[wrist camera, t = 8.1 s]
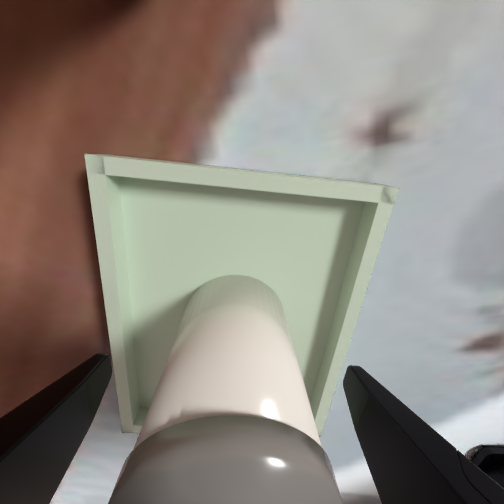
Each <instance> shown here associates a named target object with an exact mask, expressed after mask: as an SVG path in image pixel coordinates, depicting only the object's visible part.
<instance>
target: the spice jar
mask: <svg viewBox="0 0 504 504" xmlns="http://www.w3.org/2000/svg"><path fill="white" fill-rule="evenodd" d="M108 504H343V503H342V500H341V496H340V493H339V489H338V486H337V483H336V479H335V476H334V472H333V469H332V465H331V463H330V460H329V458H328V456H327V454H326V453H325V451H324V450H323V448H322V446H321V442H320V439H319V435H318V431H317V428H316V424H315V421H314V417H313V414H312V410H311V406H310V403H309V399H308V396H307V392H306V388H305V385H304V381H303V378H302V374H301V371H300V367H299V363H298V360H297V356H296V353H295V349H294V345H293V342H292V338H291V335H290V331H289V327H288V324H287V320H286V317H285V313H284V310H283V306H282V303H281V301H280V299H279V297H278V295H277V294H276V293H275V292H274V290H273V289H271V288H270V287H269V286H268V285H267V284H265V283H264V282H262V281H260V280H258V279H255V278H253V277H249V276H244V275H225V276H221V277H217V278H214V279H212V280H210V281H208V282H206V283H205V284H203V285H202V286H200V287H199V288H198V289H197V290H196V291H195V292H194V293H193V295H192V296H191V298H190V300H189V302H188V304H187V307H186V310H185V312H184V315H183V318H182V320H181V323H180V326H179V328H178V331H177V334H176V337H175V339H174V342H173V345H172V347H171V350H170V353H169V355H168V358H167V361H166V364H165V366H164V369H163V372H162V374H161V377H160V380H159V382H158V385H157V388H156V391H155V393H154V396H153V399H152V401H151V404H150V407H149V410H148V412H147V415H146V418H145V420H144V423H143V426H142V428H141V431H140V434H139V437H138V439H137V442H136V445H135V447H134V450H133V451H132V452H131V453H130V455H129V456H128V457H127V459H126V460H125V462H124V465H123V467H122V469H121V472H120V474H119V477H118V480H117V482H116V485H115V487H114V490H113V493H112V495H111V498H110V500H109V503H108Z"/></svg>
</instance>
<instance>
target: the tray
mask: <svg viewBox="0 0 504 504" xmlns="http://www.w3.org/2000/svg"><path fill="white" fill-rule="evenodd" d="M84 155H85V162H86V170H87V177H88V184H89V192H90V199H91V207H92V214H93V221H94V229H95V236H96V243H97V251H98V258H99V266H100V273H101V280H102V288H103V295H104V303H105V310H106V317H107V325H108V332H109V339H110V347H111V354H112V362H113V369H114V376H115V384H116V391H117V399H118V406H119V413H120V421H121V428H122V433H140V431H141V428H142V426H143V423H144V420H145V418H146V415H147V412H148V410H149V407H150V404H151V401H152V399H153V396H154V393H155V391H156V388H157V385H158V382H159V380H160V377H161V374H162V372H163V369H164V366H165V364H166V361H167V358H168V355H169V353H170V350H171V347H172V345H173V342H174V339H175V337H176V334H177V331H178V328H179V326H180V323H181V320H182V318H183V315H184V312H185V310H186V307H187V304H188V302H189V300H190V298H191V296H192V295H193V293H194V292H195V291H196V290H197V289H198V288H199V287H200V286H202V285H203V284H205V283H206V282H208V281H210V280H212V279H214V278H217V277H221V276H225V275H244V276H249V277H253V278H255V279H258V280H260V281H262V282H264V283H265V284H267V285H268V286H269V287H270V288H271V289H273V290H274V292H275V293H276V294H277V295H278V297H279V299H280V301H281V303H282V306H283V310H284V313H285V317H286V320H287V324H288V327H289V331H290V335H291V338H292V342H293V345H294V349H295V353H296V356H297V360H298V363H299V367H300V371H301V374H302V378H303V381H304V385H305V388H306V392H307V396H308V399H309V403H310V406H311V410H312V414H313V417H314V421H315V424H316V428H317V431H318V435H319V437H320V436H321V433H322V430H323V427H324V424H325V421H326V417H327V414H328V411H329V408H330V405H331V402H332V398H333V395H334V392H335V389H336V386H337V383H338V379H339V376H340V373H341V370H342V367H343V364H344V360H345V357H346V354H347V351H348V348H349V345H350V341H351V338H352V335H353V332H354V329H355V326H356V322H357V319H358V316H359V313H360V310H361V307H362V303H363V300H364V297H365V294H366V291H367V288H368V284H369V281H370V278H371V275H372V272H373V269H374V265H375V262H376V259H377V256H378V253H379V250H380V246H381V243H382V240H383V237H384V234H385V231H386V227H387V224H388V221H389V218H390V215H391V212H392V208H393V205H394V202H395V199H396V196H397V193H398V189H399V188H397V187H391V186H386V185H381V184H375V183H365V182H356V181H347V180H338V179H328V178H319V177H310V176H301V175H292V174H282V173H273V172H264V171H255V170H246V169H236V168H227V167H218V166H209V165H200V164H190V163H181V162H172V161H163V160H154V159H144V158H135V157H126V156H117V155H107V154H84Z"/></svg>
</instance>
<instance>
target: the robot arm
mask: <svg viewBox="0 0 504 504" xmlns="http://www.w3.org/2000/svg"><path fill="white" fill-rule="evenodd" d="M111 375H112V366H111V359H110V355H109V354H95V355H94V356H92V357H91V358H89V359H88V360H86V361H85V362H83V363H82V364H80V365H79V366H77V367H76V368H74V369H73V370H71V371H70V372H68V373H67V374H65V375H64V376H62V377H61V378H59V379H58V380H56V381H55V382H53V383H52V384H50V385H49V386H47V387H46V388H45V389H43V390H42V391H40V392H39V393H37V394H36V395H34V396H33V397H31V398H30V399H28V400H27V401H25V402H24V403H22V404H21V405H19V406H18V407H16V408H15V409H13V410H12V411H10V412H9V413H7V414H6V415H4V416H3V417H1V418H0V504H49V503H50V501H51V499H52V497H53V495H54V494H55V492H56V490H57V488H58V486H59V484H60V482H61V480H62V479H63V477H64V475H65V473H66V471H67V469H68V467H69V465H70V463H71V462H72V460H73V458H74V456H75V454H76V452H77V450H78V448H79V446H80V445H81V443H82V441H83V439H84V437H85V435H86V433H87V431H88V429H89V427H90V425H91V423H92V421H93V419H94V417H95V414H96V412H97V410H98V407H99V405H100V402H101V400H102V398H103V395H104V393H105V390H106V388H107V386H108V383H109V381H110V378H111ZM343 387H344V391H345V395H346V398H347V402H348V406H349V410H350V413H351V417H352V421H353V424H354V428H355V431H356V434H357V437H358V440H359V442H360V445H361V448H362V450H363V453H364V456H365V459H366V461H367V464H368V467H369V469H370V472H371V475H372V478H373V480H374V483H375V486H376V488H377V491H378V494H379V497H380V499H381V502H382V504H504V447H485V448H483V449H481V450H480V451H479V452H478V453H477V455H476V456H475V458H474V459H473V461H472V462H471V461H470V460H469V459H468V458H466V457H465V456H464V455H463V454H462V453H461V452H459V451H456V448H455V447H453V446H452V445H451V444H450V443H449V442H448V441H446V440H445V439H444V438H443V437H442V436H441V435H439V434H438V433H437V432H436V431H435V430H434V429H432V428H431V427H430V426H429V425H428V424H427V423H425V422H424V421H423V420H422V419H421V418H420V417H418V416H417V415H416V414H415V413H414V412H413V411H411V410H410V409H409V408H408V407H407V406H406V405H404V404H403V403H402V402H401V401H400V400H399V399H397V398H396V397H395V396H394V395H393V394H392V393H390V392H389V391H388V390H387V389H386V388H385V387H384V386H382V385H381V384H380V383H379V382H378V381H377V380H375V379H374V378H373V377H372V376H371V375H370V374H368V373H367V372H366V371H365V370H364V369H363V368H361V367H360V366H352V365H350V366H348V368H347V371H346V374H345V377H344V380H343Z"/></svg>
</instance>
